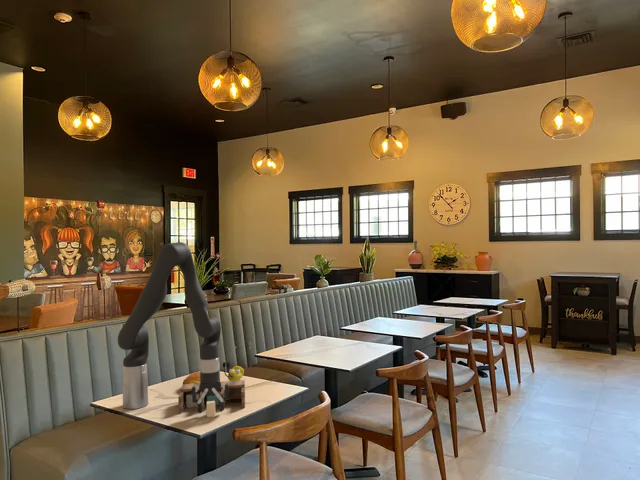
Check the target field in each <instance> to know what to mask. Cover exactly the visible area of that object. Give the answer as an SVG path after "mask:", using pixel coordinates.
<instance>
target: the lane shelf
mask: <svg viewBox="0 0 640 480" xmlns="http://www.w3.org/2000/svg"><path fill="white" fill-rule="evenodd" d="M245 382H246V381H245V379H240V380H236V381H229V380H226V381H225V380H223V381H220V383H221V384H226V383H228V395H229V397H228V400H238V399H241V409H245V408H246V383H245ZM194 385H195V386H200V383H196V384H183V383H182V386H181V387H180V392H179V394H178V396H177V398H178V402H177V403H178V414H183V411H184V409H185V407H186V405H187V402H186V395H187V392H189V391H192V387H193V386H194ZM198 391H200V389H198ZM220 393H221V395H222V396H223V397H224V396H225V390H223V388H222V387H221V388H220ZM201 394H202V392H201V391H200V396H201ZM226 401H227V400H225V401H224V409H223V410H222V411H224V410H225V408H226V407H225V406H226ZM201 402H202V413H203V412H204V410H205V407H206V404H207V397H206V396H204V398H203V399H202V401H201Z"/></svg>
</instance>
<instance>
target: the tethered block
mask: <svg viewBox="0 0 640 480" xmlns="http://www.w3.org/2000/svg"><path fill="white" fill-rule="evenodd" d="M219 391H220V390H219ZM216 406H220V400H219V398H217V396H216V395H215V396H207V401H206V417H207V418H212V417H213V418H214V417H216Z"/></svg>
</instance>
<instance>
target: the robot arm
mask: <svg viewBox="0 0 640 480" xmlns="http://www.w3.org/2000/svg"><path fill="white" fill-rule="evenodd" d="M191 251H192V250H191V249H190V247H189V246H188V244H186V243H185V242H182V241H181V242H178V241H177V242H171V243H166V244H164V245H162V247H161V249H160V250H159V252H158V255H157V257H156V260H155V263H154V266H153V268H152V270H151V273H150V275H149V277H148V279H147V281H146V283H145V286H144V287H143V289H142V291H141V292H140V295H139V297H138V300H137V302H136V304H135V305H134V307H133V309H132V311H131V313H130V315H129V316H128V318H127V320H126V321H125V323H124V324H123V326H122V327H121V329H120V330H119V332H118V335H117V344H118V347H119V348H120V349H122V350H124V351H129V350H130V352H129V353H128V355H126V356H125V357H124V358H123V360H122V368H123V384H122V387H121V389H122V408H123V409H127V410H135V409H140V408H144V407H146V406H148V404H149V387H148V357H149V352H150V351H149V345H150V338H149V337H150V335H149V332H148V331H149V330H148V329H147V327H146V326H145V323H146V322H148V321H149V320H150V319H151V318H152V317H153V316H154V315H155V314H156V313H157V312H158V311H159V310H160V308H161V307H162V304H163V303H164V302H165V300H166V297H167V295H168V294H167V293H168V286H167V285H168V282H167V281H168V278H169V276H170V274H171V272H172V271H173V269H174V268H175V267H179V269H180V271H181V273H182V276H183V291H184V292H183V293H184V297H185V300H186V302H187V305H188V308H189V310H190V312H191V315H192V316H191V317H192V321H193V327H194V329H195V332H196V333H197V335H198V336H199V337H200V338H202V339H203V341H202V342H201V344H200V346H199V372H200V386H195V385H194V386H193V387H192V401H193V403H197V404H198V407H197V412H198V413H199V414H202V413H203V412H202V402H201V401H202V399H203V398H204V396H206V397H207V396H215V395H216V396H217V398H219V400H220V405H219V411H220V412H223V411H224V410H225V408H224V401H225V400H226V401H227V400H228V401H229V399H228V397H229V395H228V383H226V384H221V383H220V382H221V372H220V371H221V370H220V368H221V364H220V356H219V353H220V352H219V343H220V340H221V339H220V337H221V330H222V328H221V323H220V320H219V319H218V318H216V317H215V316H209V314H208V310H209V309H210V305H209V303H208V300H207V298H206V296H205V293H204V291H203V288H202V286H201V283H200V281H199V277H198V273H197V270H196V266H195V261H194V258H193V255H192V252H191ZM221 387H222V388H223V390H225V396H224V397H223V396H222V395H221V393H220V391H219V390H220V388H221ZM198 389H200V391H201V392H202V394H201V396H200V397H199V399H197V398H196V392H197V391H198ZM226 401H225V402H226ZM223 409H224V410H223Z"/></svg>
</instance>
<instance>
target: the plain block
mask: <svg viewBox="0 0 640 480" xmlns="http://www.w3.org/2000/svg"><path fill="white" fill-rule="evenodd" d="M199 397H200V391H197V392H196V398H197V399H199ZM186 402H187V403H186V408H195V407H197V408H198V404H197V403H193V401H192V391H189V392H187V395H186Z"/></svg>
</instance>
